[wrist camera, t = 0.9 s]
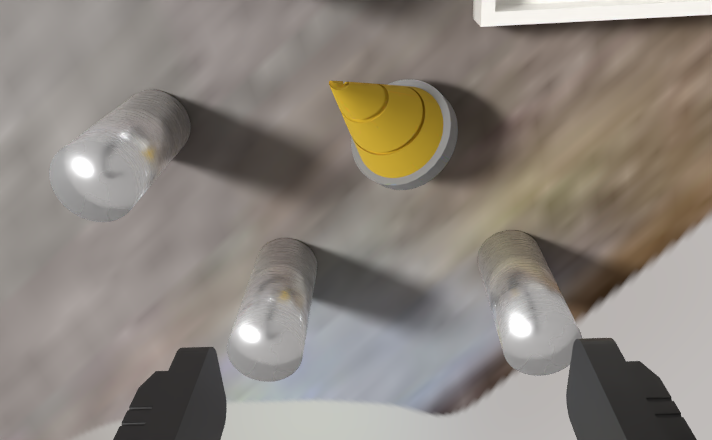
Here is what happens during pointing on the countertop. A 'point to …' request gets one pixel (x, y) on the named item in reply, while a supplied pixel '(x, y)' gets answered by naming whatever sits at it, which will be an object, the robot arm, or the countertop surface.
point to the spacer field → (296, 250)
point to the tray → (581, 10)
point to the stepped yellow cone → (398, 130)
